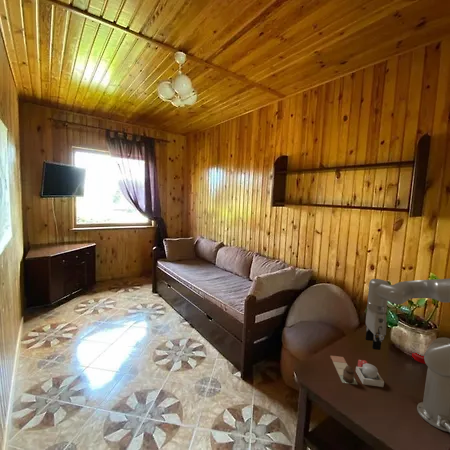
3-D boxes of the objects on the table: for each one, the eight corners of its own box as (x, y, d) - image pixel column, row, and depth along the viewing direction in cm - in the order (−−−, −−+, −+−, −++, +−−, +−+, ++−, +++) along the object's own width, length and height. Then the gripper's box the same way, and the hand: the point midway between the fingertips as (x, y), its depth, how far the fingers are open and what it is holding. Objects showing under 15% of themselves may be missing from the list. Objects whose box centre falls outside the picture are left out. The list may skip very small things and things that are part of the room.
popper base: (384, 388, 110) (385, 379, 110) (362, 385, 112) (363, 376, 111) (369, 366, 125) (370, 358, 125) (350, 364, 126) (351, 356, 126)
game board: (358, 386, 111) (358, 384, 111) (341, 384, 112) (341, 382, 112) (343, 358, 131) (343, 356, 131) (329, 356, 132) (329, 355, 132)
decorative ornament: (409, 358, 133) (409, 353, 133) (412, 351, 140) (413, 346, 140) (432, 367, 126) (433, 361, 126) (434, 359, 133) (435, 354, 133)
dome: (379, 381, 112) (380, 373, 111) (365, 379, 113) (366, 371, 112) (373, 372, 118) (374, 364, 117) (359, 370, 118) (360, 362, 118)
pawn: (355, 383, 112) (356, 370, 111) (344, 382, 112) (346, 368, 112) (351, 376, 116) (352, 363, 115) (341, 375, 117) (342, 362, 116)
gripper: (396, 316, 103) (391, 357, 105) (376, 300, 120) (372, 335, 122) (376, 314, 104) (372, 355, 106) (360, 298, 121) (356, 333, 123)
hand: (372, 344), depth 114 cm, fingers open, 6 cm apart
